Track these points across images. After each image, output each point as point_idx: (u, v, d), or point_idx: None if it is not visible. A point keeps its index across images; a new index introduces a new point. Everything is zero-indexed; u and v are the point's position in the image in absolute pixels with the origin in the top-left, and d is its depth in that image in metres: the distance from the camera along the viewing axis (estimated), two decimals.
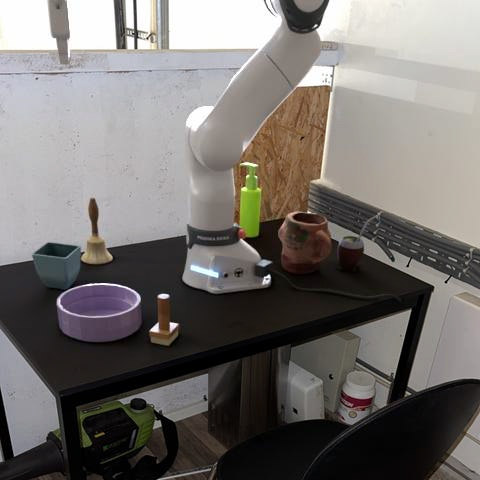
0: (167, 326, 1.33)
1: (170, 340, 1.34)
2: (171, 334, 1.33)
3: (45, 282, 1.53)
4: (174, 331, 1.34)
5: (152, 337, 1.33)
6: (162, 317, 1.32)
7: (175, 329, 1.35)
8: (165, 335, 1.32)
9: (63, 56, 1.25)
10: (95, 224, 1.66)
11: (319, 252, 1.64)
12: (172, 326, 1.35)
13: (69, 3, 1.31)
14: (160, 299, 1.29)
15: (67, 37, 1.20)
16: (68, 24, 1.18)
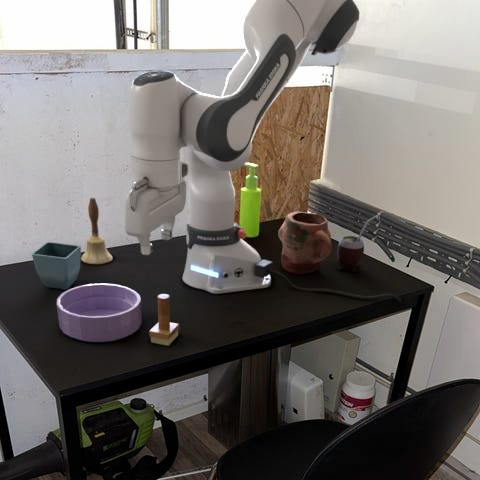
0: (167, 326, 1.33)
1: (170, 340, 1.34)
2: (171, 334, 1.33)
3: (45, 282, 1.53)
4: (174, 331, 1.34)
5: (152, 337, 1.33)
6: (162, 317, 1.32)
7: (175, 329, 1.35)
8: (165, 335, 1.32)
9: (144, 247, 1.20)
10: (95, 224, 1.66)
11: (319, 252, 1.64)
12: (172, 326, 1.35)
13: (180, 188, 1.25)
14: (160, 299, 1.29)
15: (140, 236, 1.15)
16: (141, 225, 1.13)
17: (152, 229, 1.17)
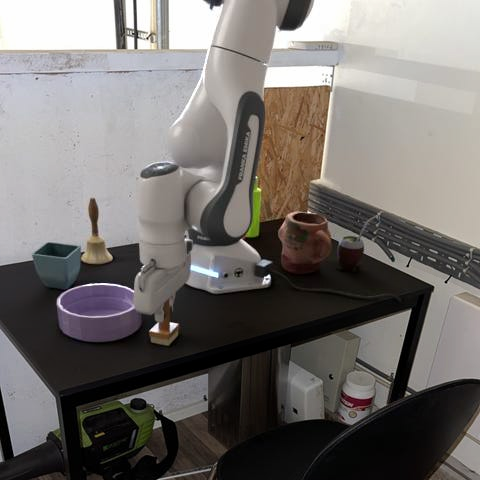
0: (167, 326, 1.33)
1: (170, 340, 1.34)
2: (171, 334, 1.33)
3: (45, 282, 1.53)
4: (174, 331, 1.34)
5: (152, 337, 1.33)
6: None
7: (175, 329, 1.35)
8: (165, 335, 1.32)
9: (158, 315, 1.30)
10: (95, 224, 1.66)
11: (319, 252, 1.64)
12: (172, 326, 1.35)
13: (185, 261, 1.33)
14: None
15: (148, 314, 1.22)
16: (149, 305, 1.21)
17: (159, 305, 1.25)
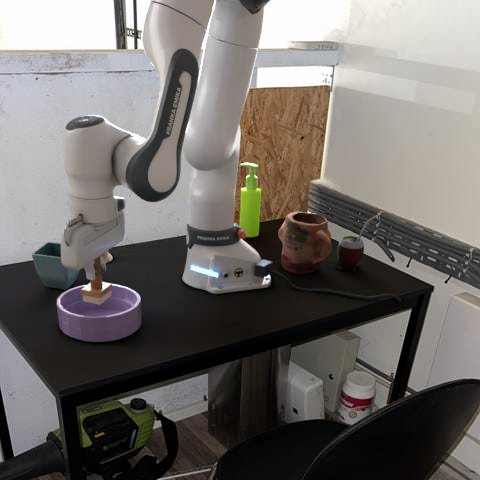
0: (99, 285, 1.33)
1: (102, 299, 1.34)
2: (103, 293, 1.33)
3: (45, 282, 1.53)
4: (106, 291, 1.34)
5: (84, 296, 1.33)
6: None
7: (107, 288, 1.35)
8: (96, 293, 1.32)
9: (89, 273, 1.30)
10: None
11: (319, 252, 1.64)
12: (104, 285, 1.35)
13: (118, 220, 1.33)
14: None
15: (76, 269, 1.22)
16: (76, 260, 1.21)
17: (88, 262, 1.25)
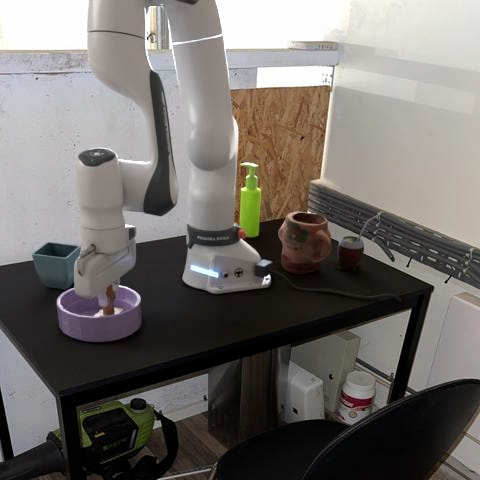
0: (111, 311, 1.36)
1: None
2: None
3: (45, 282, 1.53)
4: None
5: None
6: None
7: None
8: None
9: (102, 300, 1.33)
10: None
11: (319, 252, 1.64)
12: (116, 311, 1.38)
13: (130, 248, 1.36)
14: None
15: (89, 298, 1.25)
16: (89, 289, 1.24)
17: (101, 290, 1.28)
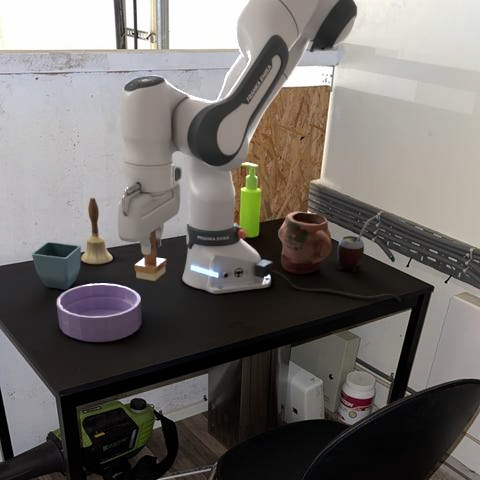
0: (153, 260, 1.26)
1: (156, 275, 1.26)
2: (157, 269, 1.26)
3: (45, 282, 1.53)
4: (161, 266, 1.27)
5: (137, 272, 1.26)
6: None
7: (162, 264, 1.27)
8: (151, 269, 1.25)
9: (145, 247, 1.23)
10: (95, 224, 1.66)
11: (319, 252, 1.64)
12: (159, 261, 1.27)
13: (174, 191, 1.25)
14: None
15: (133, 241, 1.15)
16: (134, 231, 1.13)
17: (145, 234, 1.18)
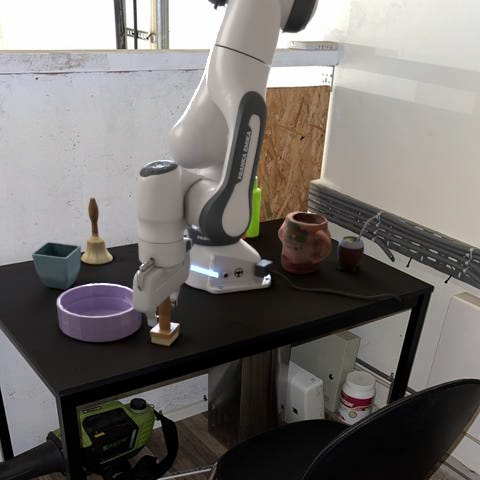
0: (168, 326, 1.33)
1: (171, 340, 1.34)
2: (172, 334, 1.33)
3: (45, 282, 1.53)
4: (175, 331, 1.34)
5: (153, 337, 1.33)
6: (163, 317, 1.32)
7: (176, 329, 1.34)
8: (166, 335, 1.32)
9: (151, 320, 1.28)
10: (95, 224, 1.66)
11: (319, 252, 1.64)
12: (172, 326, 1.35)
13: (185, 260, 1.33)
14: None
15: (147, 313, 1.22)
16: (148, 304, 1.21)
17: (158, 304, 1.25)
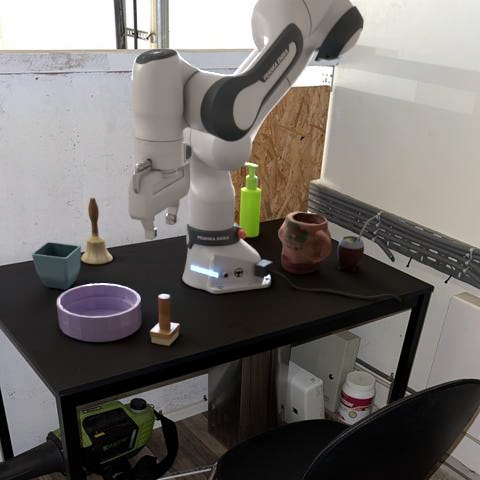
0: (168, 326, 1.33)
1: (171, 340, 1.34)
2: (172, 334, 1.33)
3: (45, 282, 1.53)
4: (175, 331, 1.34)
5: (153, 337, 1.33)
6: (163, 317, 1.32)
7: (176, 329, 1.34)
8: (166, 335, 1.32)
9: (148, 232, 1.17)
10: (95, 224, 1.66)
11: (319, 252, 1.64)
12: (172, 326, 1.35)
13: (184, 171, 1.22)
14: (161, 299, 1.29)
15: (144, 220, 1.12)
16: (145, 208, 1.10)
17: (156, 212, 1.15)
